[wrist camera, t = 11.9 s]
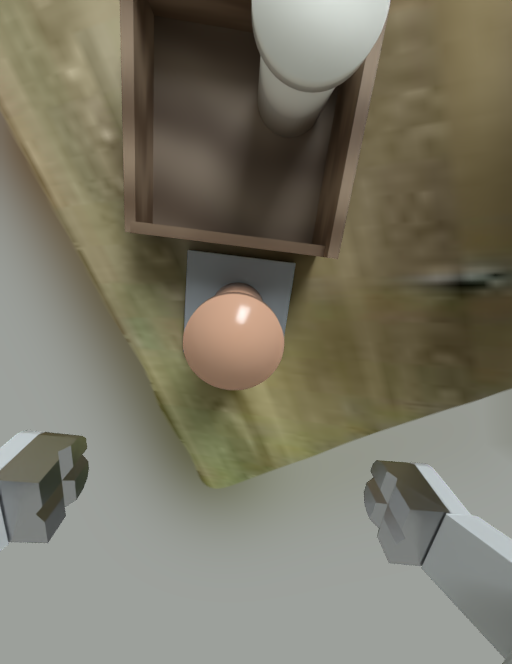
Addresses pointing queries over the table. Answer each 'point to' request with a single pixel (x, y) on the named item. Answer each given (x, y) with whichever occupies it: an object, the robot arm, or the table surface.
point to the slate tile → (238, 280)
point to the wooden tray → (228, 135)
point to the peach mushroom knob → (233, 339)
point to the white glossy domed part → (309, 54)
